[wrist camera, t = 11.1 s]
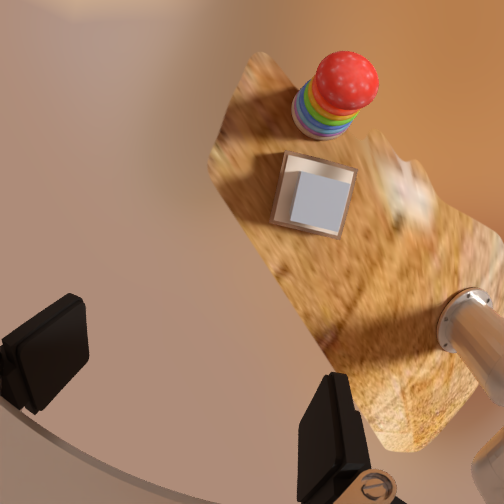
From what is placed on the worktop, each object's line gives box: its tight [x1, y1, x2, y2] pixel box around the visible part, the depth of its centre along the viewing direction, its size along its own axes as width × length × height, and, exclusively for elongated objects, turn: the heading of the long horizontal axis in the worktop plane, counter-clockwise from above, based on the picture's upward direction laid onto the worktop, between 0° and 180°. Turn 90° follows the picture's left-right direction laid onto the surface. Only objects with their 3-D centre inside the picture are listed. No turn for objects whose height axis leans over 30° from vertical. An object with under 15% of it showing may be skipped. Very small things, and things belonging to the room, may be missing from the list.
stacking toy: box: [291, 51, 379, 141], centre depth 26 cm, size 8×8×19 cm
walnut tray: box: [269, 150, 358, 240], centre depth 36 cm, size 9×9×4 cm
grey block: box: [289, 171, 350, 232], centre depth 31 cm, size 5×5×6 cm
